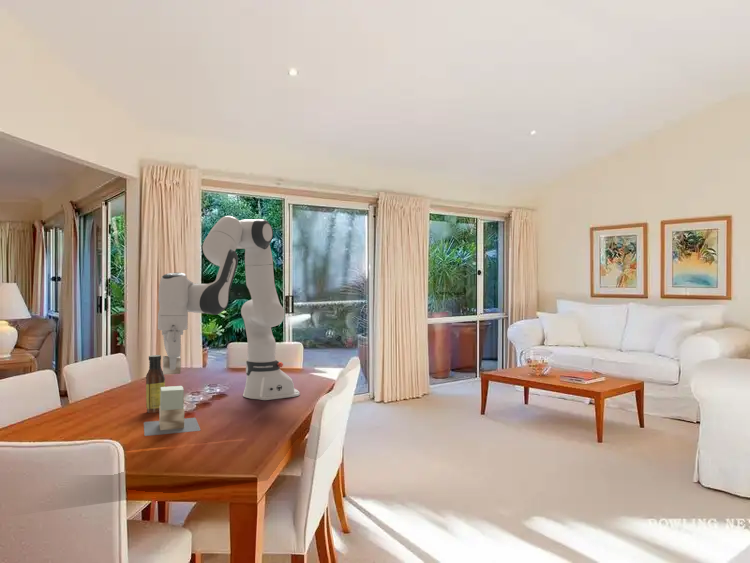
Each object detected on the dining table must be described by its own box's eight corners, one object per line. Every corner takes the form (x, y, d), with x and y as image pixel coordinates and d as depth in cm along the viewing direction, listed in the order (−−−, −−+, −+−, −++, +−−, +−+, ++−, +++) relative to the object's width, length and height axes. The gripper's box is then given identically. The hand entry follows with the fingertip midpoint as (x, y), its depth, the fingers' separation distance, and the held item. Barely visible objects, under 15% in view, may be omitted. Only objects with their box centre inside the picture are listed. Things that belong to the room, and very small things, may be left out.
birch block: (182, 422, 175) (182, 403, 175) (184, 428, 169) (184, 408, 169) (159, 424, 172) (159, 405, 172) (160, 430, 166) (160, 410, 166)
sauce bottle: (169, 410, 192) (169, 355, 192) (156, 414, 186) (157, 357, 186) (154, 408, 194) (154, 353, 194) (141, 413, 188) (142, 356, 188)
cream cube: (179, 370, 174) (179, 355, 174) (180, 373, 169) (180, 357, 169) (162, 371, 172) (163, 356, 172) (163, 374, 167) (163, 358, 167)
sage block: (181, 404, 175) (182, 385, 175) (183, 408, 169) (183, 389, 169) (160, 405, 172) (160, 387, 172) (161, 410, 166) (161, 391, 166)
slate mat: (195, 419, 181) (195, 417, 181) (200, 432, 167) (200, 430, 167) (143, 423, 175) (143, 422, 175) (144, 437, 160) (144, 435, 160)
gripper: (186, 326, 162) (185, 372, 162) (181, 321, 181) (180, 362, 181) (163, 327, 160) (162, 373, 160) (160, 321, 178) (159, 363, 178)
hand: (171, 367), depth 170 cm, fingers closed on cream cube, 5 cm apart
